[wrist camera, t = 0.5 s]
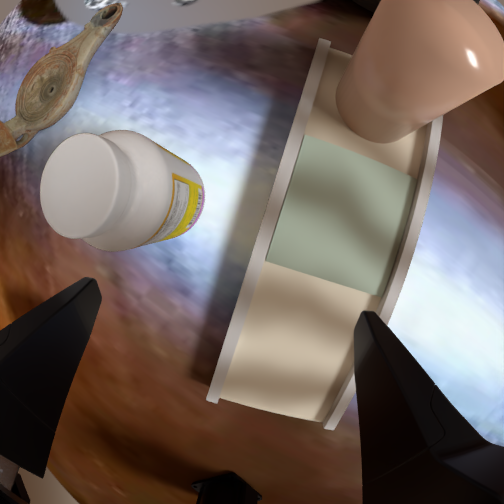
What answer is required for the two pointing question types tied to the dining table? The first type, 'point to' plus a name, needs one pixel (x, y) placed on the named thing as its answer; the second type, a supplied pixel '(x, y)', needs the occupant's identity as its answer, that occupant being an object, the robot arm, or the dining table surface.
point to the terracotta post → (418, 66)
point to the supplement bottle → (119, 191)
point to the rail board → (324, 256)
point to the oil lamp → (55, 81)
